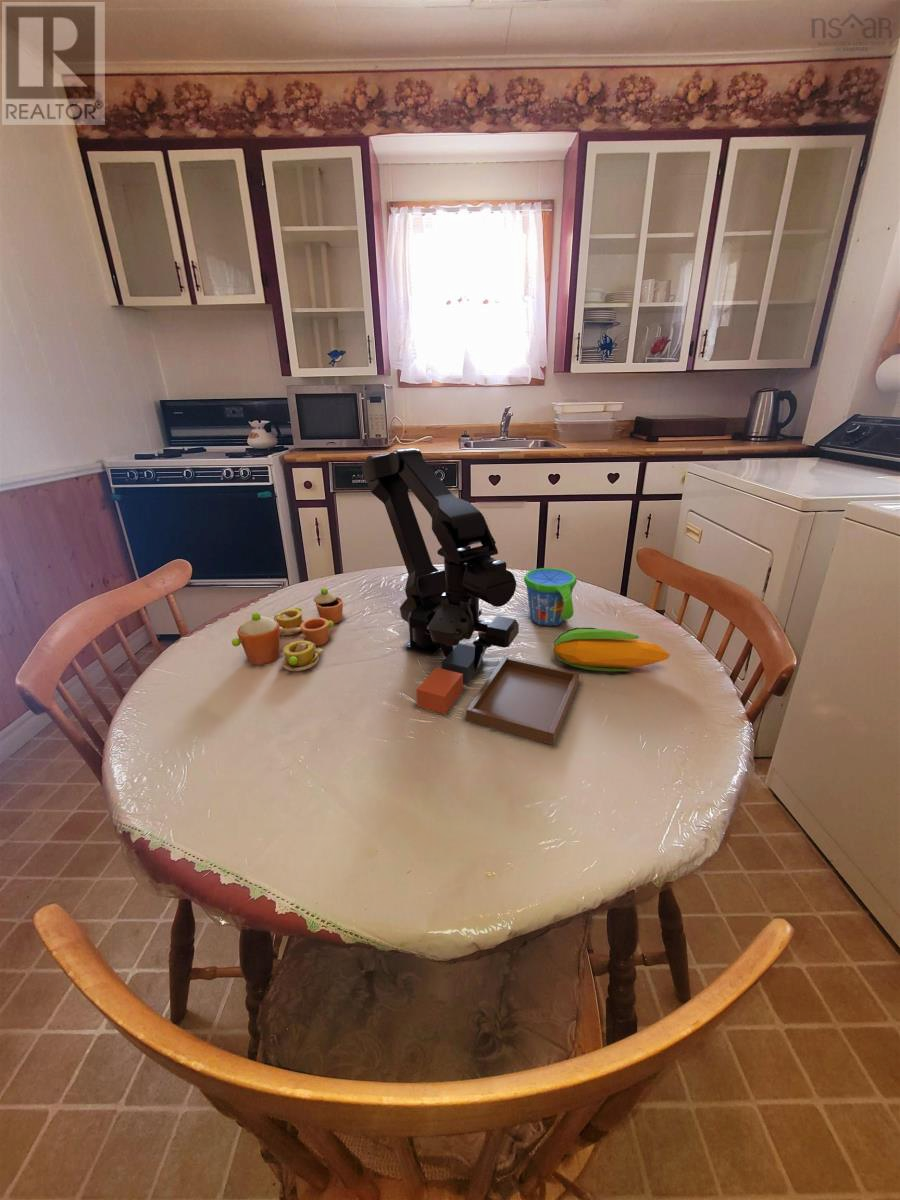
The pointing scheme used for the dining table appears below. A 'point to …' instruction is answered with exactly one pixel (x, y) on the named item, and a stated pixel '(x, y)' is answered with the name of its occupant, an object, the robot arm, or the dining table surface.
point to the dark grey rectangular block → (462, 662)
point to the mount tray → (525, 699)
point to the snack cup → (550, 595)
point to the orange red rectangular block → (440, 690)
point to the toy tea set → (265, 634)
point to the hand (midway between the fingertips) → (462, 665)
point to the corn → (605, 649)
